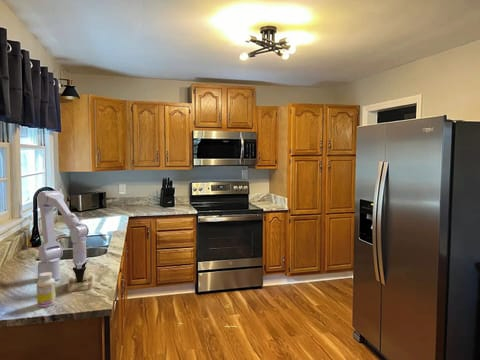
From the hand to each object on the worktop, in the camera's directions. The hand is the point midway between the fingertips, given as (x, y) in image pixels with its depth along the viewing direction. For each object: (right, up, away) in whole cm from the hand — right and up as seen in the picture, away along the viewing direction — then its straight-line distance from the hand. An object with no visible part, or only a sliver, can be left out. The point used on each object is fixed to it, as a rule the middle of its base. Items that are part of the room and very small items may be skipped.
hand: (80, 279), depth 167 cm
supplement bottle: (-5, -5, -20) cm, 21 cm away
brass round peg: (0, -3, 0) cm, 3 cm away
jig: (0, -3, 0) cm, 3 cm away
